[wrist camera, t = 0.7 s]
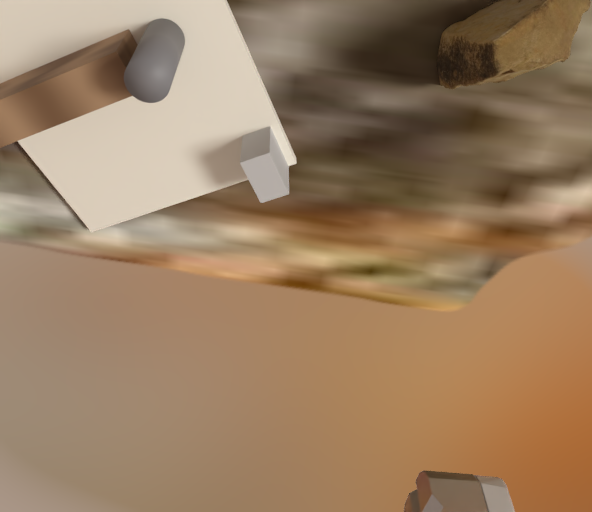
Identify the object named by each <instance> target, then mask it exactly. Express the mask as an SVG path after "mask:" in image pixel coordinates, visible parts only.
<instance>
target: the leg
mask: <svg viewBox="0 0 592 512" xmlns="http://www.w3.org/2000/svg"><path fill="white" fill-rule="evenodd" d="M137 46H138V44H137V42H136V41H135V39H134V37H133V35H132V34H131V32H130V30H129V29H128V30H125V31H123V32H121V33H118V34H116V35H114V36H111V37H109V38H106V39H104V40H102V41H99V42H97V43H95V44H92V45H90V46H88V47H85V48H83V49H81V50H78V51H76V52H73V53H71V54H69V55H66V56H64V57H62V58H59V59H57V60H55V61H52V62H50V63H47V64H45V65H43V66H40V67H38V68H36V69H33V70H31V71H29V72H26V73H24V74H21V75H19V76H17V77H14V78H12V79H10V80H7V81H5V82H3V83H0V148H1V147H3V146H6V145H8V144H11V143H13V142H16V141H19V140H21V139H24V138H26V137H29V136H31V135H34V134H36V133H39V132H42V131H44V130H47V129H49V128H52V127H54V126H57V125H59V124H62V123H64V122H67V121H70V120H72V119H75V118H77V117H80V116H82V115H85V114H87V113H90V112H93V111H95V110H98V109H100V108H103V107H105V106H108V105H110V104H113V103H115V102H118V101H121V100H123V99H126V98H128V97H131V96H132V95H131V94H130V93H129V91H128V90H127V88H126V86H125V83H124V72H125V70H126V68H127V66H128V64H129V62H130V60H131V58H132V56H133V54H134V52H135V50H136V48H137Z"/></svg>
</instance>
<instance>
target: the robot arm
mask: <svg viewBox="0 0 592 512" xmlns="http://www.w3.org/2000/svg"><path fill="white" fill-rule="evenodd" d="M416 485H417V490H415V491H413V492H411V493H409V495H408V498H407V500H406V503H405V507H404V512H515V511H514V507H513V504H512V501H511V498H510V495H509V492H508V489H507V486H506V484H505V483H504V482H503V480H502V479H500V478H498V477H487V476H476V475H472V474H459V473H447V472H435V471H422V472H420V473H419V475H418V477H417V479H416Z"/></svg>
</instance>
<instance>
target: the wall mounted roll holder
mask: <svg viewBox="0 0 592 512" xmlns="http://www.w3.org/2000/svg"><path fill="white" fill-rule="evenodd" d="M128 29H129V30H130V32H131V34H132V35H133V37H134V39H135V41H136V42H137V44H138V46H137V48H136V50H135V52H134V54H133V56H132V58H131V60H130V62H129V64H128V66H127V68H126V70H125V72H124V83H125V86H126V88H127V90H128V91H129V93H130V94H131V95H132V96H131V97H128V98H126V99H123V100H121V101H118V102H115V103H113V104H110V105H108V106H105V107H103V108H100V109H98V110H95V111H93V112H90V113H87V114H85V115H82V116H80V117H77V118H75V119H72V120H70V121H67V122H64V123H62V124H59V125H57V126H54V127H52V128H49V129H47V130H44V131H42V132H39V133H36V134H34V135H31V136H29V137H26V138H24V139H21V140H19V141H18V143H19V144H20V145H21V146H22V148H23V149H24V150H25V151H26V152H27V154H28V155H29V156H30V157H31V159H32V160H33V161H34V162H35V164H36V165H37V166H38V167H39V168H40V170H41V171H42V172H43V173H44V175H45V176H46V177H47V178H48V179H49V181H50V182H51V183H52V184H53V186H54V187H55V188H56V189H57V190H58V192H59V193H60V194H61V195H62V197H63V198H64V199H65V200H66V202H67V203H68V204H69V205H70V206H71V208H72V209H73V210H74V211H75V213H76V214H77V215H78V216H79V217H80V219H81V220H82V221H83V222H84V224H85V225H86V226H87V227H88V229H89V230H90V231H91V232H94V231H97V230H100V229H103V228H106V227H109V226H112V225H115V224H118V223H121V222H124V221H127V220H130V219H133V218H136V217H138V216H141V215H144V214H147V213H150V212H153V211H156V210H159V209H162V208H165V207H168V206H171V205H174V204H177V203H180V202H183V201H186V200H189V199H192V198H195V197H198V196H201V195H204V194H207V193H210V192H213V191H216V190H219V189H222V188H225V187H228V186H231V185H234V184H237V183H240V182H243V181H246V180H249V181H250V183H251V185H252V187H253V189H254V191H255V193H256V195H257V197H258V199H259V200H260V202H261V203H263V202H266V201H269V200H272V199H275V198H278V197H281V196H285V195H288V194H289V166H290V165H293V164H296V157H295V154H294V152H293V150H292V148H291V145H290V143H289V141H288V138H287V136H286V134H285V132H284V129H283V127H282V125H281V123H280V120H279V118H278V116H277V113H276V111H275V109H274V107H273V104H272V102H271V100H270V98H269V95H268V93H267V91H266V89H265V86H264V84H263V82H262V79H261V77H260V75H259V73H258V70H257V68H256V66H255V64H254V61H253V59H252V57H251V54H250V52H249V50H248V48H247V45H246V43H245V41H244V39H243V36H242V34H241V32H240V30H239V27H238V25H237V23H236V20H235V18H234V16H233V14H232V11H231V9H230V7H229V5H228V2H227V0H0V83H3V82H5V81H7V80H10V79H12V78H14V77H17V76H19V75H21V74H24V73H26V72H29V71H31V70H33V69H36V68H38V67H40V66H43V65H45V64H47V63H50V62H52V61H55V60H57V59H59V58H62V57H64V56H66V55H69V54H71V53H73V52H76V51H78V50H81V49H83V48H85V47H88V46H90V45H92V44H95V43H97V42H99V41H102V40H104V39H106V38H109V37H111V36H114V35H116V34H118V33H121V32H123V31H125V30H128Z"/></svg>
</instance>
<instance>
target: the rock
mask: <svg viewBox="0 0 592 512" xmlns="http://www.w3.org/2000/svg"><path fill="white" fill-rule="evenodd" d="M589 7H590V0H500V1H498V2H495V3H494V4H492V5H490V6H489V7H487V8H484V9H482V10H479V11H477V12H476V13H475V14H473V15H472V16H470V17H468V18H467V19H466V20H464V21H460V22H457V23H454V24H453V25H451V26H449V27H448V28H447V29H446V30H444V31H443V33H442V36H441V41H440V46H439V52H438V58H437V70H438V75H439V79H440V85H441V86H443V85H444V87H445V88H449V89H455V88H456V87H458V86H462V85H463V86H468V85H481V84H484V83H490V82H493V83H499V82H502V81H507V80H509V79H512V78H514V77H516V76H518V75H520V74H523V73H526V72H528V71H532V70H537V69H544V68H546V67H548V66H551V65H552V64H554V63H556V62H559V61H561V62H564V61H565V60H566V59H568V57H569V56H570V48H571V42H572V39H573V37H574V34H575V33H576V31H577V29H578V25H579V23H580V21H581V16H582V14H583V13H584V12H586V11H588V9H589Z"/></svg>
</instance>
